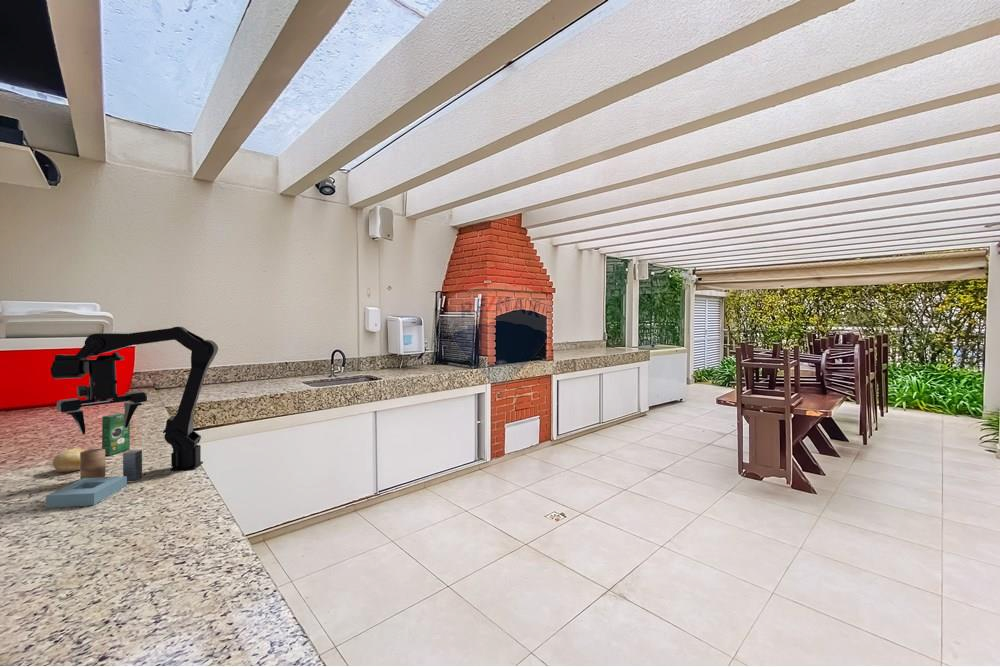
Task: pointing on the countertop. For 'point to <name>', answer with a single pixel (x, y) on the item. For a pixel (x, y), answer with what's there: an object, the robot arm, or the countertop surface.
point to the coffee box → (115, 434)
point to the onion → (68, 460)
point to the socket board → (85, 492)
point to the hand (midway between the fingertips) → (105, 430)
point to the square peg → (132, 465)
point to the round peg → (92, 463)
